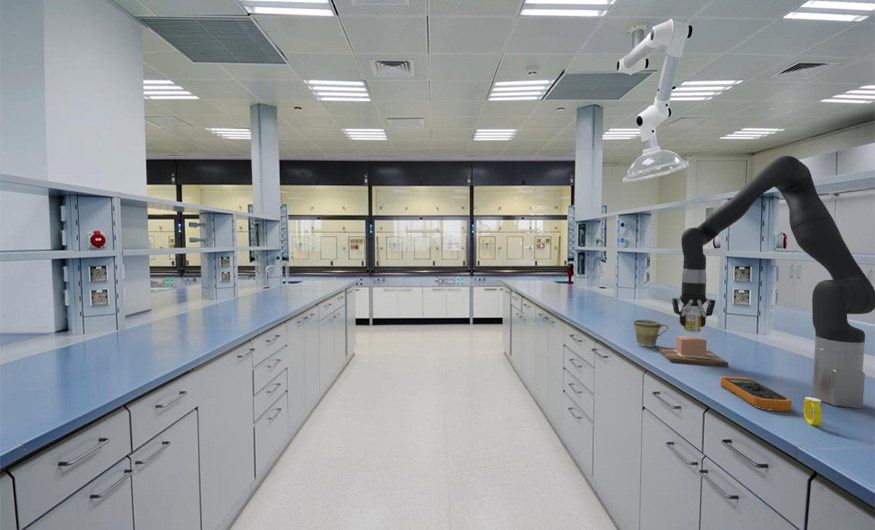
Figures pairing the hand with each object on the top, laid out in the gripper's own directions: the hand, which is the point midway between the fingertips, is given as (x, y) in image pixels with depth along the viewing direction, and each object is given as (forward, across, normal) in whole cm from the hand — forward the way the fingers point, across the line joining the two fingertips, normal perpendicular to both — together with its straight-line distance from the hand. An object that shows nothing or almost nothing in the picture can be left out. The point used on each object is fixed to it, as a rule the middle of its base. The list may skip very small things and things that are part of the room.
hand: (692, 325), depth 142 cm
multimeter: (+13, -3, +38) cm, 40 cm away
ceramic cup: (+13, +10, -16) cm, 23 cm away
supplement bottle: (+2, 0, 0) cm, 2 cm away
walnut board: (+12, 0, 0) cm, 12 cm away
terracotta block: (+11, 0, 0) cm, 11 cm away
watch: (+12, -9, +52) cm, 54 cm away
